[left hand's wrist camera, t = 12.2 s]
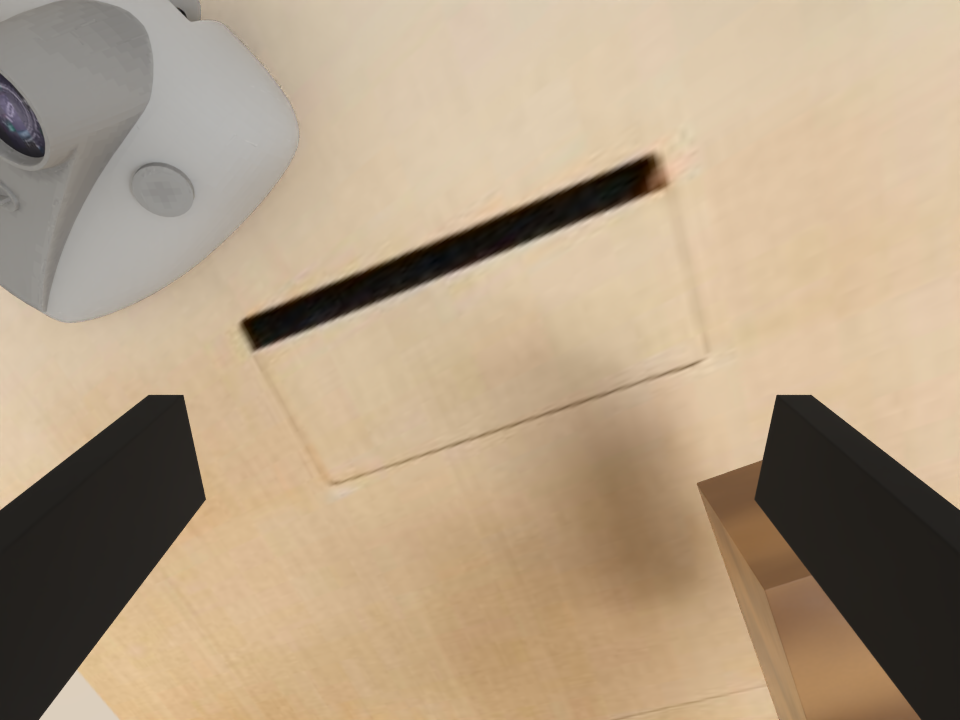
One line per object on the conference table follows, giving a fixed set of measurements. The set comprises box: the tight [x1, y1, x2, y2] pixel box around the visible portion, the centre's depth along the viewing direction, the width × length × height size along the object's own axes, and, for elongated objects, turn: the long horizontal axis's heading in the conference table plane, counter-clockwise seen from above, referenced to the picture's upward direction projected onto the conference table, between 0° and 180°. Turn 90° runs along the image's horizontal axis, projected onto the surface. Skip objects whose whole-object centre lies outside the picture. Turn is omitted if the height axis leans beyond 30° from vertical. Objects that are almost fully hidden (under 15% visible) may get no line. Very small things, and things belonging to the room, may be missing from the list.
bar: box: [697, 460, 921, 720], centre depth 33 cm, size 23×6×9 cm, turn 24°
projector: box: [0, 0, 299, 323], centre depth 30 cm, size 22×23×15 cm
